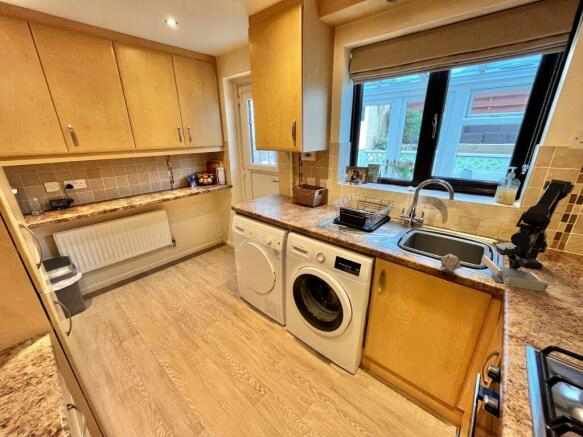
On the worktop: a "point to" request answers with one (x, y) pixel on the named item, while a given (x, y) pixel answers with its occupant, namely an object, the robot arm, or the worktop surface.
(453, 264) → the game die
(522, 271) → the block
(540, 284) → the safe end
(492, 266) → the trap lane
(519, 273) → the slate block
